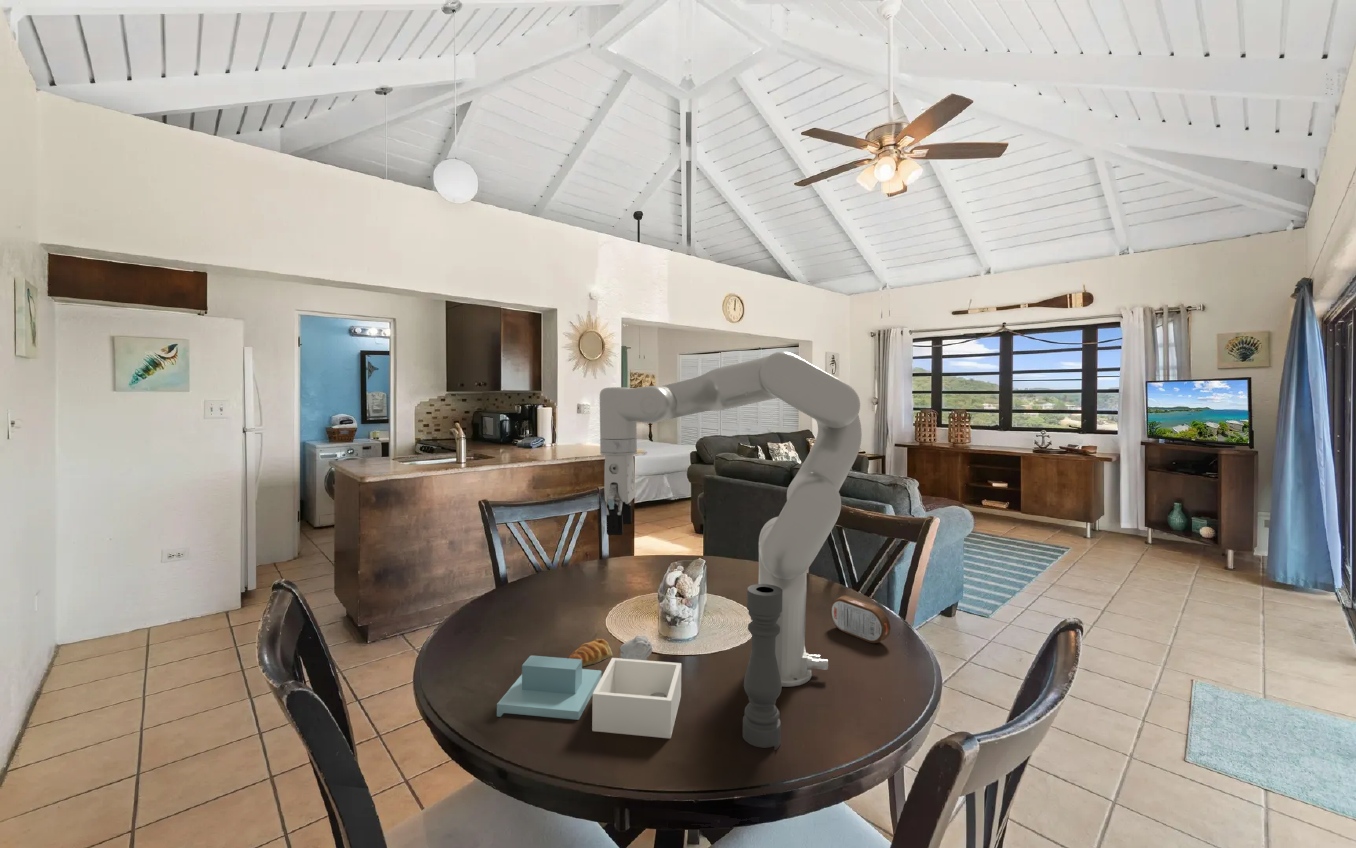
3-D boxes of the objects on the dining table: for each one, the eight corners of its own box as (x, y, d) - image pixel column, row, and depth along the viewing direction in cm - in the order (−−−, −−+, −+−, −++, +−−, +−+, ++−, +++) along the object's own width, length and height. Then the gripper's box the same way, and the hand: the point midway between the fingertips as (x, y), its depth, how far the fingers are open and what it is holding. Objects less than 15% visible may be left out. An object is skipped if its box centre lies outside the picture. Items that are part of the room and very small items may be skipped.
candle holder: (776, 729, 97) (780, 583, 95) (784, 752, 91) (788, 596, 89) (739, 729, 97) (742, 583, 95) (745, 752, 90) (748, 596, 89)
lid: (601, 681, 112) (601, 648, 111) (578, 724, 97) (579, 685, 97) (529, 675, 114) (529, 642, 113) (496, 716, 99) (496, 678, 99)
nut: (667, 704, 103) (667, 693, 102) (665, 713, 100) (665, 702, 100) (651, 702, 103) (651, 691, 103) (648, 711, 100) (648, 700, 100)
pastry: (581, 676, 114) (581, 657, 114) (559, 665, 119) (559, 647, 118) (615, 659, 122) (615, 642, 121) (593, 650, 126) (593, 633, 126)
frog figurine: (648, 679, 113) (648, 645, 112) (614, 675, 114) (614, 641, 114) (656, 665, 119) (657, 632, 118) (624, 661, 120) (624, 628, 120)
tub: (680, 700, 105) (681, 663, 105) (670, 743, 92) (671, 700, 92) (611, 694, 107) (612, 657, 107) (592, 735, 94) (592, 693, 94)
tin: (890, 646, 130) (892, 609, 130) (882, 649, 128) (884, 612, 128) (835, 624, 142) (836, 591, 141) (827, 627, 140) (828, 593, 140)
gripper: (629, 451, 110) (630, 539, 111) (642, 443, 127) (643, 520, 128) (590, 451, 110) (591, 539, 111) (609, 443, 128) (610, 519, 128)
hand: (619, 529), depth 120 cm, fingers open, 9 cm apart
